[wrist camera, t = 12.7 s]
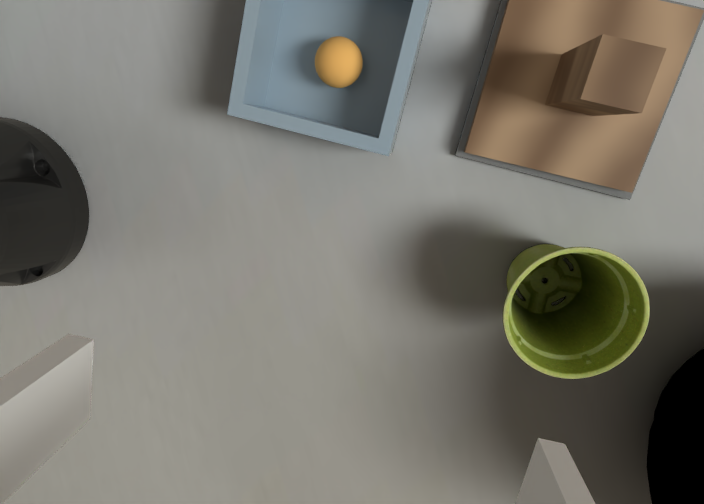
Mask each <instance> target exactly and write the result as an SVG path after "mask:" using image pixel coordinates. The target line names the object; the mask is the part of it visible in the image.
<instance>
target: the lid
mask: <svg viewBox="0 0 704 504" xmlns="http://www.w3.org/2000/svg"><path fill="white" fill-rule="evenodd" d="M703 12H704V10H701V9H697V8H692V7H688V6H683V5H678V4H674V3H669V2H665V1H660V0H508V1H507V4H506V8H505V11H504V15H503V18H502V22H501V25H500V29H499V32H498V35H497V39H496V42H495V46H494V49H493V53H492V56H491V60H490V63H489V66H488V70H487V73H486V77H485V80H484V84H483V87H482V91H481V94H480V98H479V101H478V104H477V108H476V111H475V115H474V118H473V122H472V125H471V129H470V132H469V135H468V139H467V142H466V146H465V149H464V152H465V153H470V154H474V155H478V156H482V157H486V158H490V159H494V160H499V161H503V162H507V163H511V164H515V165H519V166H523V167H527V168H532V169H536V170H540V171H544V172H548V173H552V174H556V175H560V176H565V177H569V178H573V179H577V180H581V181H585V182H589V183H593V184H598V185H602V186H606V187H610V188H614V189H618V190H622V191H626V192H631V193H632V192H633V190H634V187H635V185H636V182H637V180H638V177H639V175H640V172H641V170H642V167H643V165H644V162H645V159H646V157H647V154H648V152H649V149H650V147H651V144H652V142H653V139H654V137H655V134H656V132H657V129H658V126H659V124H660V121H661V119H662V116H663V114H664V111H665V109H666V106H667V104H668V101H669V99H670V96H671V93H672V91H673V88H674V86H675V83H676V81H677V78H678V76H679V73H680V71H681V68H682V66H683V63H684V61H685V58H686V55H687V53H688V50H689V48H690V45H691V43H692V40H693V38H694V35H695V33H696V30H697V28H698V25H699V22H700V20H701V17H702V15H703Z"/></svg>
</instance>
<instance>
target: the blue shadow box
mask: <svg viewBox="0 0 704 504" xmlns="http://www.w3.org/2000/svg"><path fill="white" fill-rule="evenodd" d="M431 3H432V0H246V3H245V9H244V15H243V21H242V27H241V33H240V39H239V46H238V52H237V58H236V64H235V70H234V76H233V82H232V88H231V94H230V100H229V106H228V112H227V115H231V116H235V117H239V118H243V119H246V120H250V121H254V122H258V123H262V124H266V125H270V126H274V127H277V128H281V129H285V130H289V131H293V132H297V133H301V134H305V135H308V136H312V137H316V138H320V139H324V140H328V141H332V142H336V143H339V144H343V145H347V146H351V147H355V148H359V149H363V150H367V151H371V152H374V153H378V154H382V155H386V156H389V155H390V154H391V153H392V152H393V148H394V144H395V140H396V136H397V132H398V129H399V125H400V121H401V117H402V113H403V110H404V106H405V102H406V98H407V94H408V90H409V87H410V83H411V79H412V75H413V71H414V68H415V64H416V60H417V56H418V52H419V48H420V45H421V41H422V37H423V33H424V29H425V26H426V22H427V18H428V14H429V10H430V7H431ZM336 36H341V37H346V38H348V39H350V40H352V41H353V42H354V43H355V44H356V45H357V46H358V48H359V49H360V51H361V54H362V59H363V66H362V71H361V73H360V75H359V77H358V78H357V80H356V81H355V82H354V83H352V84H351V85H349V86H347V87H344V88H334V87H331V86H329V85H327V84H325V83H324V82H323V81H322V80H321V79H320V77H319V76H318V74H317V72H316V69H315V55H316V52H317V50H318V48H319V46H320V45H321V44H322V43H323V42H324V41H325V40H327V39H329V38H331V37H336Z"/></svg>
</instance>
